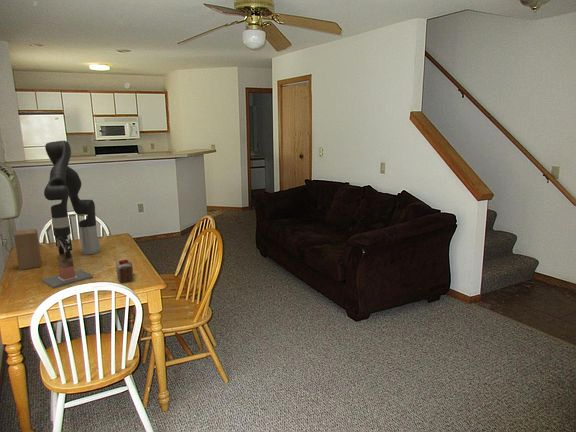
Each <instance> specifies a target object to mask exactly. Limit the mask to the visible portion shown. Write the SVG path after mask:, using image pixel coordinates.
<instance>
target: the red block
mask: <svg viewBox="0 0 576 432" xmlns="http://www.w3.org/2000/svg"><path fill="white" fill-rule="evenodd" d="M75 271H76V270H75V266H74V265H73V266H71V267H67V268H61V267H59V265H58V275H59V276H60V278H61V279H63V280H66V279H70V278H74V277H75Z"/></svg>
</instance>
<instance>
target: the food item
mask: <svg viewBox="0 0 576 432" xmlns="http://www.w3.org/2000/svg"><path fill="white" fill-rule="evenodd" d="M133 268H134V267H133V262H131V261H129V259H120V260H117V261H116V263H115V269H116V275H117V277H118V280H119V282H120V283H121V284H123V283H128V282H133V280H134V273H133V272H134V271H133V270H134V269H133Z"/></svg>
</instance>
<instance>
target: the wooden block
mask: <svg viewBox="0 0 576 432" xmlns="http://www.w3.org/2000/svg"><path fill="white" fill-rule="evenodd" d="M38 235H39V233H38V229H37V228H33V229H22V230H15V233H14V235H13V237H14V243H15V250H16V257H17V264H18V269H19V271H24V270H29V269H37V268H41V266H42V256H41V249H40V242H39V236H38Z"/></svg>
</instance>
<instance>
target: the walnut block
mask: <svg viewBox="0 0 576 432" xmlns="http://www.w3.org/2000/svg"><path fill="white" fill-rule="evenodd" d="M57 262H58V266H59V267H61V268H67V267H71V266H74V259H73V254H72V253H71V258H70V259H66V254H65V252H64V254H60V255H59V254H57Z"/></svg>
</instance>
